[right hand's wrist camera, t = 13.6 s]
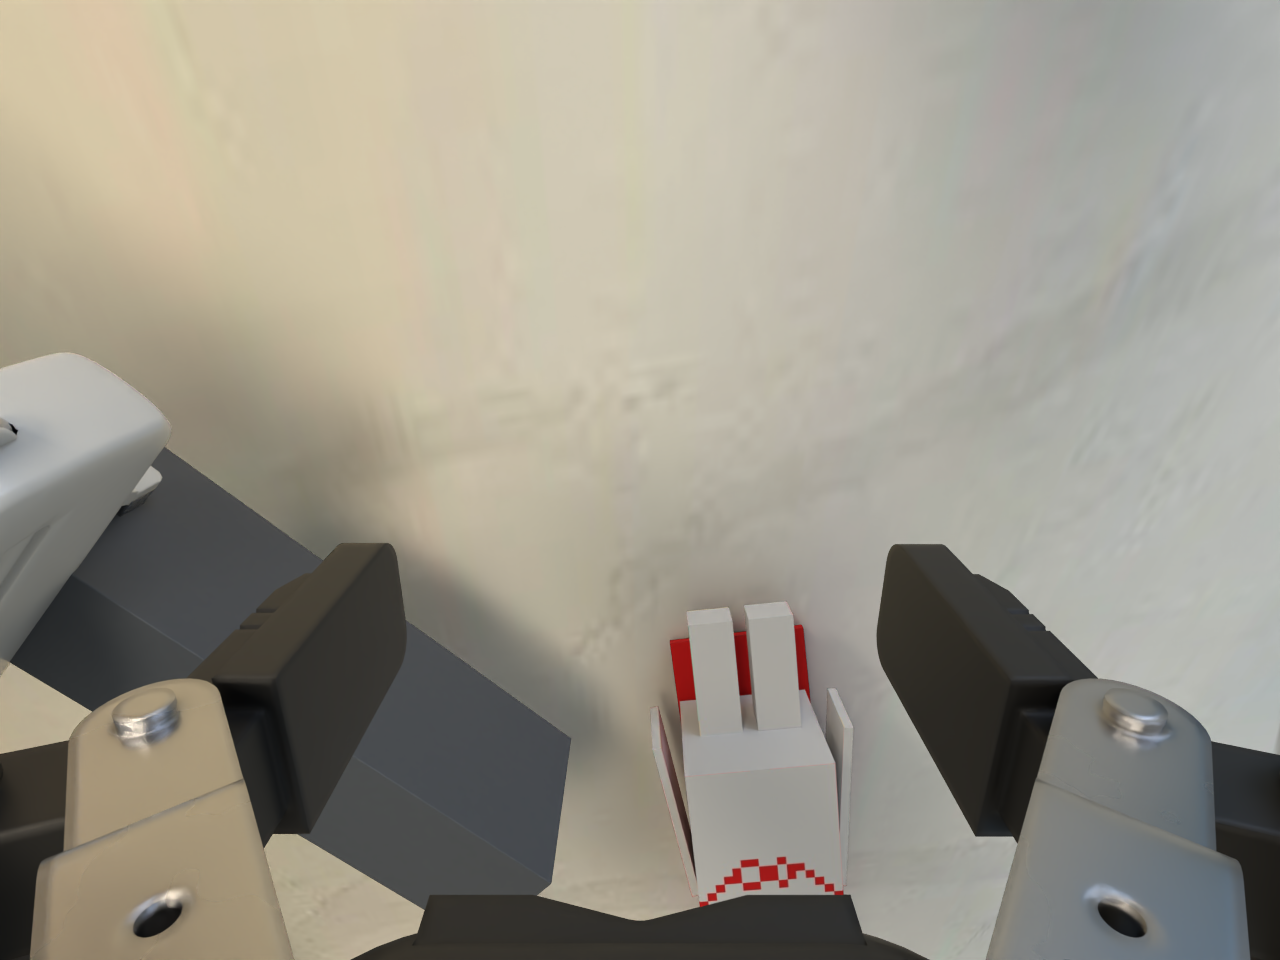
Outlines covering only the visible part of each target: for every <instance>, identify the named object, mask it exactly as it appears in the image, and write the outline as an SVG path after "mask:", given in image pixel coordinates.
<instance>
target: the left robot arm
mask: <svg viewBox="0 0 1280 960" xmlns="http://www.w3.org/2000/svg"><path fill="white" fill-rule="evenodd" d="M171 433H172V428H171V424H170V423H169V421H168V420H167V418H166V417H165V416H164V415H163V413H162V412H161V411H160V410H159V409H158V408H157V407H156V406H155V405H154V404H153V403H152V402H151V401H150V400H148V399H147V398H146V397H145V396H144V395H143V394H141V393H140V392H139V391H137V390H136V389H135V388H133V387H132V386H131V385H129V384H128V383H127V382H125V381H124V380H122V379H121V378H120V377H118V376H117V375H115V374H114V373H113V372H111V371H109V370H108V369H106V368H105V367H103V366H101V365H100V364H98V363H97V362H95V361H93V360H91V359H89V358H87V357H85V356H82V355H79V354H76V353H70V352H62V353H54V354H49V355H45V356H41V357H37V358H34V359H30V360H26V361H23V362H20V363H16V364H13V365H10V366H6V367H3V368H0V677H1V675H2V674H3V673H4V671H5V670H6V668H7V667H8V666H9V664H10V661H11V659H12V658H13V656H14V655H15V653H16V652H17V651H18V649H19V648H20V646H21V645H22V644H23V642H24V641H25V639H26V638H27V637H28V635H29V634H30V632H31V631H32V629H33V628H34V627H35V625H36V624H37V622H38V621H39V620H40V618H41V617H42V615H43V614H44V613H45V611H46V610H47V608H48V607H49V605H50V604H51V603H52V601H53V600H54V598H55V597H56V596H57V594H58V593H59V591H60V590H61V589H62V587H63V586H64V584H65V583H66V581H67V580H68V579H69V577H70V576H71V575H72V573H73V572H75V571H76V570H77V568H78V567H79V566H80V564H81V563H82V561H83V560H84V559H85V557H86V556H87V554H88V553H89V552H90V550H91V549H92V547H93V546H94V544H95V543H96V542H97V540H98V539H99V537H100V536H101V535H102V533H103V532H104V530H105V529H106V528H107V526H108V525H109V523H110V522H111V521H112V519H113V518H114V516H115V515H116V514H117V515H118V516H120V517H121V516H123V515H125V514H126V513H128V512H130V511H132V510H134V509H135V508H136V507H139V506H141V505H142V504H144V503H145V502H146V500H147V499H148V498H149V496H150V495H151V494H152V492H153V491H154V490H155V488H156V487H157V486H158V484H159V483H160V482H161V480H162V476H161V474H160V472H159V471H157V470H156V469H155V468H153V467H152V466H151V464H152V463H153V461H154V460H155V459H156V457H157V456H158V455H159V453H160V452H161V451H162V449H163V448H164V447H165V445H166V444H167V442H168V440H169V438H170V436H171Z"/></svg>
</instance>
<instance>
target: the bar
mask: <svg viewBox="0 0 1280 960" xmlns="http://www.w3.org/2000/svg"><path fill="white" fill-rule="evenodd" d="M151 466H152V467H153V468H155V469H156V470H157V471H159V472H160V474H161V476H162V480H161V482H160V483H159V484H158V486H157V487H156V488H155V490H154V491H153V492H152V494H151V495H150V496H149V498H148V499H147V500H146V502H145V503H144V504H142V505H141V506H139V507H136V508H135V509H134V510H132V511H130V512H128V513H126V514H125V515H123V516H121V517H120V516H118V515H117V514H116V515H115V516H114V518H113V519H112V521H111V522H110V523H109V525H108V526H107V528H106V529H105V530H104V532H103V533H102V535H101V536H100V537H99V539H98V540H97V542H96V543H95V544H94V546H93V547H92V549H91V550H90V552H89V553H88V554H87V556H86V557H85V559H84V560H83V561H82V563H81V564H80V566H79V567H78V568H77V570H76V571H75V572H73V573H72V575H71V576H70V577H69V579H68V580H67V581H66V583H65V584H64V586H63V587H62V589H61V590H60V591H59V593H58V594H57V596H56V597H55V598H54V600H53V601H52V603H51V604H50V605H49V607H48V608H47V610H46V611H45V613H44V614H43V615H42V617H41V618H40V620H39V621H38V622H37V624H36V625H35V627H34V628H33V629H32V631H31V632H30V634H29V635H28V637H27V638H26V639H25V641H24V642H23V644H22V645H21V646H20V648H19V649H18V651H17V652H16V653H15V655H14V656H13V658H12V659H11V661H10V663H12V664H13V665H15V666H17V667H18V668H20V669H22V670H24V671H25V672H27V673H29V674H30V675H32V676H34V677H35V678H37V679H39V680H40V681H42V682H44V683H45V684H47V685H49V686H50V687H52V688H54V689H55V690H57V691H59V692H60V693H62V694H64V695H65V696H67V697H69V698H70V699H72V700H74V701H75V702H77V703H79V704H80V705H82V706H84V707H86V708H87V709H89V710H91V711H92V712H93V711H94V710H96V709H97V708H99V707H100V706H102V705H103V704H105V703H107V702H108V701H110V700H112V699H114V698H116V697H118V696H120V695H122V694H124V693H127V692H129V691H131V690H134V689H137V688H140V687H143V686H146V685H149V684H153V683H156V682H161V681H166V680H173V679H186V678H187V677H188V676H189V675H190V674H191V673H192V672H193V671H194V670H195V669H196V668H197V667H198V666H199V665H200V664H201V663H202V662H203V661H204V660H205V659H206V658H207V657H208V656H209V655H210V654H211V653H212V652H213V651H214V650H215V649H216V648H217V647H218V646H219V645H220V644H221V643H222V642H223V641H224V640H225V639H226V638H227V637H228V636H229V635H230V634H231V633H232V632H233V631H234V630H235V629H240V624H241V623H242V622H243V621H244V620H245V619H246V618H248V617H249V616H250V615H251V614H252V613H256V609H257V608H258V607H259V606H260V605H261V604H262V603H263V602H264V601H265V600H266V599H267V598H268V597H269V596H270V595H271V594H272V593H273V592H274V591H275V590H276V589H278V588H280V587H281V586H283V585H285V584H287V583H289V582H290V581H292V580H294V579H296V578H298V577H299V576H301V575H303V574H305V573H312V572H313V571H314V570H315V569H316V568H317V567H318V566H319V565H320V564H321V563H322V562H323V560H321V559H320V558H319V557H317V556H316V555H314V554H313V553H312V552H310V551H309V550H307V549H306V548H305V547H303V546H302V545H300V544H299V543H298V542H296V541H295V540H293V539H292V538H291V537H289V536H288V535H287V534H285V533H284V532H282V531H281V530H280V529H278V528H277V527H275V526H274V525H273V524H271V523H270V522H268V521H267V520H266V519H264V518H263V517H261V516H260V515H259V514H257V513H256V512H254V511H253V510H252V509H250V508H249V507H247V506H246V505H245V504H243V503H242V502H241V501H239V500H238V499H236V498H235V497H234V496H232V495H231V494H229V493H228V492H227V491H225V490H224V489H222V488H221V487H220V486H218V485H217V484H215V483H214V482H213V481H211V480H210V479H208V478H207V477H206V476H204V475H203V474H201V473H200V472H199V471H197V470H196V469H194V468H193V467H192V466H190V465H189V464H188V463H186V462H185V461H183V460H182V459H181V458H179V457H178V456H176V455H175V454H174V453H172V452H171V451H169V450H168V449H167V448H165V447H164V448H163V449H162V451H161V452H160V453H159V455H158V456H157V457H156V459H155V460H154V461H153V463H152V464H151ZM406 628H407V643H406V651H405V656H404V660H403V663H402V666H401V668H400V670H399V672H398V673H397V675H396V677H395V679H394V681H393V682H392V684H391V686H390V688H389V690H388V692H387V693H386V695H385V697H384V699H383V701H382V703H381V704H380V706H379V708H378V710H377V712H376V714H375V715H374V717H373V719H372V721H371V723H370V725H369V726H368V728H367V730H366V732H365V734H364V736H363V737H362V739H361V741H360V743H359V745H358V747H357V748H356V750H355V752H354V754H353V756H352V758H351V759H350V761H349V763H348V765H347V767H346V769H345V770H344V772H343V774H342V776H341V778H340V780H339V781H338V783H337V785H336V787H335V789H334V791H333V792H332V794H331V796H330V798H329V800H328V802H327V803H326V805H325V807H324V809H323V811H322V813H321V814H320V816H319V818H318V820H317V822H316V824H315V825H314V827H313V829H312V831H311V833H310V834H298V835H300V836H302V837H303V838H305V839H307V840H308V841H310V842H312V843H313V844H315V845H317V846H318V847H320V848H322V849H323V850H325V851H327V852H328V853H330V854H332V855H334V856H335V857H337V858H339V859H340V860H342V861H344V862H345V863H347V864H349V865H350V866H352V867H354V868H355V869H357V870H359V871H360V872H362V873H364V874H365V875H367V876H369V877H370V878H372V879H374V880H375V881H377V882H379V883H380V884H382V885H384V886H385V887H387V888H389V889H390V890H392V891H394V892H396V893H397V894H399V895H401V896H402V897H404V898H406V899H407V900H409V901H411V902H412V903H414V904H416V905H417V906H419V907H421V908H422V909H424V910H425V908H426V905H427V902H428V899H429V895H536V896H537V895H538V894H539V893H540V892H542V891H543V890H544V889H545V888H546V887H548V886H549V885H550V884H551V882H552V875H553V867H554V860H555V853H556V845H557V838H558V831H559V823H560V816H561V808H562V801H563V794H564V786H565V779H566V772H567V764H568V757H569V750H570V742H571V738H570V737H568V736H567V735H565V734H564V733H563V732H561V731H560V730H558V729H557V728H556V727H554V726H553V725H551V724H550V723H549V722H547V721H546V720H544V719H543V718H542V717H540V716H539V715H537V714H536V713H535V712H533V711H532V710H531V709H529V708H528V707H526V706H525V705H524V704H522V703H521V702H519V701H518V700H517V699H515V698H514V697H512V696H511V695H510V694H508V693H507V692H505V691H504V690H503V689H501V688H500V687H498V686H497V685H496V684H494V683H493V682H491V681H490V680H489V679H487V678H486V677H484V676H483V675H482V674H480V673H479V672H478V671H476V670H475V669H473V668H472V667H471V666H469V665H468V664H466V663H465V662H464V661H462V660H461V659H459V658H458V657H457V656H455V655H454V654H452V653H451V652H450V651H448V650H447V649H445V648H444V647H443V646H441V645H440V644H438V643H437V642H436V641H434V640H433V639H432V638H430V637H429V636H427V635H426V634H425V633H423V632H422V631H420V630H419V629H418V628H416V627H415V626H413V625H412V624H411V623H409V622H408V621H406Z"/></svg>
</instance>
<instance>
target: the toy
mask: <svg viewBox="0 0 1280 960" xmlns="http://www.w3.org/2000/svg"><path fill="white" fill-rule="evenodd" d="M686 612H687V621H688V630H689V638H686V639H678V640H670V647H671V654H672V661H673V669H674V676H675V683H676V691H677V698H678V705H679V713H680V720H681V728H682V742H683V757H684V772H685V783H686V791H687V800H688V809H689V817H690V826H691V830H690V826H689V822H688V818H687V815H686V811H685V807H684V803H683V799H682V796H681V792H680V788H679V784H678V780H677V776H676V773H675V769H674V765H673V761H672V757H671V753H670V750H669V746H668V742H667V738H666V734H665V730H664V727H663V723H662V719H661V715H660V711H659V708H658V706H657V707H652V708H650V713H651V730H652V748H653V753H654V757H655V761H656V764H657V768H658V772H659V776H660V779H661V783H662V787H663V790H664V794H665V798H666V802H667V805H668V809H669V813H670V816H671V820H672V824H673V828H674V831H675V835H676V839H677V842H678V846H679V850H680V854H681V857H682V861H683V865H684V868H685V872H686V876H687V880H688V883H689V887H690V891H691V894H692V897H693V896H698V895H699V903H700V907H702V906H706V905H710V904H713V903H717V902H721V901H725V900H729V899H733V898H737V897H741V896H744V895H844V894H843V886H846V881H847V859H848V836H849V814H850V792H851V770H852V747H853V726H852V723H851V721H850V719H849V717H848V714H847V712H846V710H845V708H844V705H843V703H842V701H841V699H840V696H839V694H838V692H837V690H836V688H827V717H826V739H825V737H824V735H823V732H822V730H821V727H820V725H819V723H818V720H817V718H816V715H815V713H814V711H813V708H812V706H811V702H810V692H809V682H808V672H807V662H806V652H805V641H804V631H803V627H802V625H795V626H794V618H793V614H792V612H791V609H790V607H789V605H788V603H787V601H783V602H773V603H763V604H753V605H744V612H745V623H746V631H744V632H736V633H733V622H732V618H731V614H730V610H729V607H723V608H713V609H703V610H693V611H686Z"/></svg>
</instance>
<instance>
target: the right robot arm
mask: <svg viewBox="0 0 1280 960" xmlns="http://www.w3.org/2000/svg"><path fill="white" fill-rule="evenodd" d="M406 643H407V628H406V620H405V613H404V606H403V598H402V591H401V584H400V577H399V570H398V563H397V557H396V553H395V550H394V548H393V546H392V545H391V544H389V543H342V544H339V545H338V546H337V547H336V548H335V549H334V550H333V551H332V552H331V553H330V554H329V555H328V556H327V558H326V559H325V560H324V561H323V562H322V563H321V564H320V565H319V566H318V567H317V568H316V569H315V570H314V571H313V572H312V573H305V574H303V575H301V576H299V577H298V578H296V579H294V580H292V581H290V582H289V583H287V584H285V585H283V586H281V587H280V588H278V589H276V590H275V591H274V592H273V593H272V594H271V595H270V596H269V597H268V598H267V599H266V600H265V601H264V602H263V603H262V604H261V605H260V606H259V607H258V608H257V609H256V613H252V614H251V615H250V616H249V617H248V618H246V619H245V620H244V621H243V622H242V623H241V624H240V629H235V630H234V631H233V632H232V633H231V634H230V635H229V636H228V637H227V638H226V639H225V640H224V641H223V642H222V643H221V644H220V645H219V646H218V647H217V648H216V649H215V650H214V651H213V652H212V653H211V654H210V655H209V656H208V657H207V658H206V659H205V660H204V661H203V662H202V663H201V664H200V665H199V666H198V667H197V668H196V669H195V670H194V671H193V672H192V673H191V674H190V675H189V676H188V677H187V678H186V679H173V680H166V681H161V682H156V683H153V684H149V685H146V686H143V687H140V688H137V689H134V690H131V691H129V692H127V693H124V694H122V695H120V696H118V697H116V698H114V699H112V700H110V701H108V702H107V703H105V704H103V705H102V706H100V707H99V708H97V709H96V710H94V711H93V712H92V713H90V714H89V715H88V716H87V717H86V718H85V719H83V720H82V721H81V722H80V723H79V725H78V726H77V727H76V728H75V729H74V731H73V733H72V735H71V736H70V739H69V740H68V741H63V742H58V743H53V744H48V745H43V746H38V747H33V748H29V749H24V750H19V751H14V752H9V753H4V754H0V960H294V956H293V953H292V949H291V946H290V942H289V938H288V935H287V931H286V928H285V924H284V920H283V917H282V913H281V910H280V906H279V902H278V899H277V895H276V891H275V888H274V884H273V881H272V877H271V873H270V870H269V866H268V863H267V859H266V855H265V852H264V847H265V846H266V844H267V842H268V841H269V839H270V838H271V836H272V834H310V833H311V831H312V829H313V827H314V825H315V824H316V822H317V820H318V818H319V816H320V814H321V813H322V811H323V809H324V807H325V805H326V803H327V802H328V800H329V798H330V796H331V794H332V792H333V791H334V789H335V787H336V785H337V783H338V781H339V780H340V778H341V776H342V774H343V772H344V770H345V769H346V767H347V765H348V763H349V761H350V759H351V758H352V756H353V754H354V752H355V750H356V748H357V747H358V745H359V743H360V741H361V739H362V737H363V736H364V734H365V732H366V730H367V728H368V726H369V725H370V723H371V721H372V719H373V717H374V715H375V714H376V712H377V710H378V708H379V706H380V704H381V703H382V701H383V699H384V697H385V695H386V693H387V692H388V690H389V688H390V686H391V684H392V682H393V681H394V679H395V677H396V675H397V673H398V672H399V670H400V668H401V666H402V663H403V660H404V656H405V651H406ZM877 649H878V655H879V659H880V662H881V665H882V668H883V670H884V672H885V673H886V675H887V677H888V679H889V681H890V682H891V684H892V686H893V688H894V690H895V691H896V693H897V695H898V697H899V699H900V701H901V702H902V704H903V706H904V708H905V710H906V711H907V713H908V715H909V717H910V719H911V720H912V722H913V724H914V726H915V728H916V729H917V731H918V733H919V735H920V737H921V739H922V740H923V742H924V744H925V746H926V748H927V749H928V751H929V753H930V755H931V757H932V758H933V760H934V762H935V764H936V766H937V767H938V769H939V771H940V773H941V775H942V777H943V778H944V780H945V782H946V784H947V786H948V787H949V789H950V791H951V793H952V795H953V796H954V798H955V800H956V802H957V804H958V805H959V807H960V809H961V811H962V813H963V815H964V816H965V818H966V820H967V822H968V824H969V825H970V827H971V829H972V831H973V833H974V834H975V836H1013V837H1014V839H1015V840H1016V842H1017V843H1018V845H1017V848H1016V852H1015V855H1014V859H1013V863H1012V866H1011V870H1010V873H1009V877H1008V881H1007V884H1006V888H1005V891H1004V895H1003V899H1002V902H1001V906H1000V909H999V913H998V917H997V920H996V924H995V928H994V931H993V935H992V938H991V942H990V946H989V949H988V953H987V956H986V960H1280V755H1276V754H1271V753H1266V752H1261V751H1256V750H1251V749H1246V748H1241V747H1236V746H1231V745H1226V744H1222V743H1217V742H1212V741H1211V739H1210V736H1209V735H1208V733H1207V731H1206V729H1205V728H1204V727H1203V726H1202V725H1201V723H1200V722H1199V721H1198V720H1197V719H1195V718H1194V717H1193V716H1192V715H1191V714H1190V713H1188V712H1187V711H1186V710H1184V709H1183V708H1181V707H1180V706H1178V705H1177V704H1175V703H1173V702H1172V701H1170V700H1168V699H1166V698H1164V697H1162V696H1160V695H1158V694H1156V693H1153V692H1151V691H1149V690H1146V689H1143V688H1140V687H1137V686H1134V685H1131V684H1127V683H1124V682H1119V681H1114V680H1107V679H1098V678H1097V677H1096V676H1095V675H1094V674H1093V673H1092V672H1091V671H1090V670H1089V669H1088V668H1087V667H1086V666H1085V665H1084V664H1083V663H1082V662H1081V661H1080V660H1079V659H1078V658H1077V657H1076V656H1075V655H1074V654H1073V653H1072V652H1071V651H1070V650H1069V649H1068V648H1067V647H1066V646H1065V645H1064V644H1063V643H1062V642H1061V641H1060V640H1058V639H1057V638H1056V637H1055V636H1054V635H1053V634H1052V633H1051V632H1050V631H1046V630H1045V626H1044V625H1043V624H1042V623H1041V622H1040V621H1039V620H1038V619H1037V618H1036V617H1035V616H1034V615H1033V614H1029V610H1028V609H1027V608H1026V607H1025V606H1024V605H1023V604H1022V603H1021V602H1020V601H1019V600H1018V599H1017V598H1016V597H1015V596H1014V595H1013V594H1012V593H1011V592H1010V591H1008V590H1006V589H1005V588H1003V587H1001V586H999V585H997V584H995V583H994V582H992V581H990V580H988V579H986V578H985V577H983V576H981V575H979V574H972V573H971V572H970V571H969V570H968V569H967V568H966V567H965V566H964V565H963V563H962V562H961V561H960V560H959V559H958V558H957V557H956V556H955V555H954V554H953V553H952V552H951V551H950V550H949V549H948V548H947V547H946V546H945V545H942V544H895V545H893V546H892V547H891V549H890V551H889V553H888V557H887V562H886V569H885V576H884V583H883V590H882V597H881V604H880V611H879V618H878V625H877ZM351 960H929V959H927V958H925V957H923V956H921V955H918V954H916V953H914V952H912V951H910V950H908V949H906V948H904V947H902V946H899V945H896V944H894V943H891V942H888V941H886V940H883V939H880V938H877V937H874V936H870V935H867V934H863V933H862V930H861V927H860V924H859V921H858V918H857V914H856V911H855V908H854V905H853V902H852V899H851V895H744V896H741V897H737V898H733V899H729V900H725V901H721V902H717V903H713V904H710V905H706V906H702V907H698V908H694V909H690V910H686V911H682V912H678V913H675V914H671V915H667V916H663V917H659V918H655V919H651V920H645V921H635V920H629V919H625V918H621V917H617V916H613V915H609V914H605V913H602V912H598V911H594V910H590V909H586V908H582V907H578V906H574V905H570V904H567V903H563V902H559V901H555V900H551V899H547V898H543V897H539V896H536V895H429V899H428V902H427V905H426V908H425V911H424V914H423V918H422V921H421V924H420V927H419V930H418V933H417V934H413V935H410V936H406V937H403V938H400V939H397V940H394V941H392V942H389V943H386V944H384V945H381V946H378V947H376V948H374V949H372V950H370V951H368V952H366V953H364V954H362V955H359V956H357V957H355V958H353V959H351Z"/></svg>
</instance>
